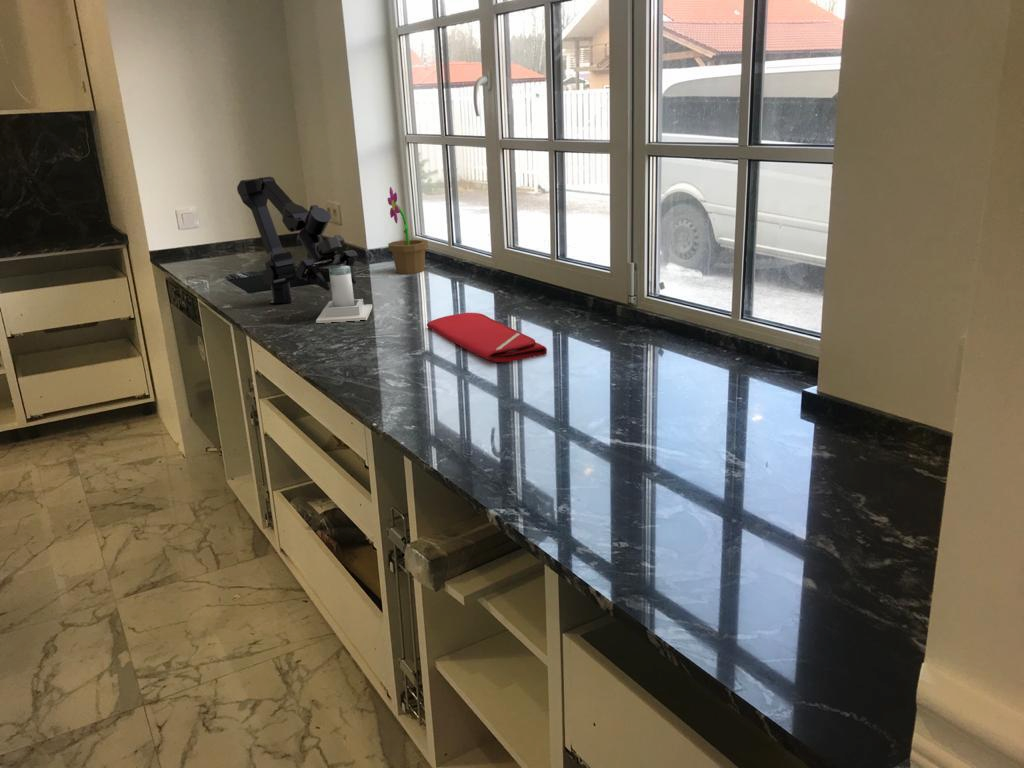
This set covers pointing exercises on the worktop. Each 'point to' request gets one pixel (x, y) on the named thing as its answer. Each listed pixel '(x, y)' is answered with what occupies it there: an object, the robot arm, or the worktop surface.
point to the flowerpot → (406, 245)
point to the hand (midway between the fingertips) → (342, 286)
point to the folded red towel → (486, 337)
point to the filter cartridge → (341, 286)
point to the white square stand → (345, 312)
